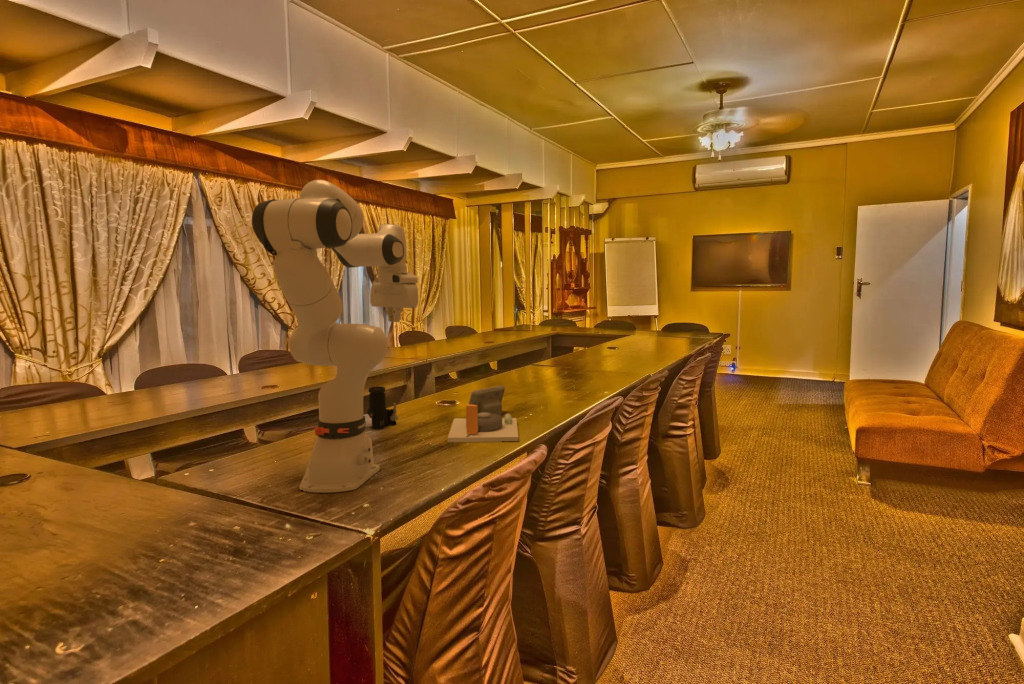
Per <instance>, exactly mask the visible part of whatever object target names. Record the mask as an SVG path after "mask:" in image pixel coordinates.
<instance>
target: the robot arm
mask: <svg viewBox="0 0 1024 684" xmlns="http://www.w3.org/2000/svg"><path fill="white" fill-rule="evenodd" d="M364 218H365V217H364V212H363V210H362V207H361V206H360V204H359V203H358V202H357V201H356V200H355V199H354V198H353V197H352V196H351V195H349V194H348V193H347V192H346V191H345V190H343V189H342V188H340V187H339V186H337V185H335V184H333V183H332V182H330V181H328V180H325V179H313V180H311V181H309V182H308V183H307V184H305V185H304V186H303V187H302V189H301V191H300V194H299V197H294V198H292V197H291V198H284V199H283V198H282V199H275V198H274V199H268V200H264V201H261V202H260V203H258V204H257V205H255V208H254V209H253V211H252V215H251V226H252V231H253V233H254V234H255V236H256V238H257V240H258V241H259V242H260V244H261V245H262V246H263V248H264V249H265V251H267V252H268V253H269V254H271V255H273V256H275V258H274V260H273V271H274V275H275V277H276V281H277V283H278V286H279V288H280V290H281V292H282V295H283V296H284V298H285V300H286V301H287V303H288V305H289V307H290V308H291V310H292V312H293V314H294V316H295V318H296V320H297V324H298V326H296V327H295V328H294V329H293V331H292V332H291V334H290V337H289V340H288V349H289V352H290V355H291V357H292V358H293V359H294V360H295V361H296V362H298V363H303V364H306V365H311V366H320V367H321V366H322V367H326V366H327V367H336V368H337V369H336V375H335V378H332V379H331V380H329V381H327V382H326V383H324V384H323V385H322V386H321V387H320V389H319V391H318V394H317V396H318V418H319V419H318V420H317V425H316V427H315V428H314V434H315V436H317V437H316V438H315V440H314V443H313V447H312V451H311V454H310V458H309V462H308V466H307V468H306V471H305V473H304V474H303V477H302V478H301V482H300V484H299V487H298V489H300V490H299V491H301V490H303V491H302V492H306V491H307V492H306V493H323V494H324V493H340V492H341V493H342V492H349V491H355V490H357V489H358V488H360V487H361V486H362V485H363V484H364V483H365V482H367V481H368V480H369V479H371V478H372V477H373V476H374V475H375V474H377V473H378V472H379V471H380V465H378V464H375V463H374V452H373V451H374V449H373V442H372V441H373V440H372V438H371V437H370V436H369V435H368V434H367V433H366V429H367V428H366V424H367V421H366V416H364V395H365V393H364V391H365V385H366V382H367V379H368V377H369V376H370V374H371V372H372V371H373V370H374V369H375V368H376V367H377V366H378V365H379V364H381V362H383V361H384V360H385V358H386V356H387V353H388V351H389V341H388V337H387V335H386V333H385V332H384V330H382V328H381V327H378V326H374V325H369V324H366V323H339V322H337V321H338V320H339V319H340V317H341V315H342V313H343V309H344V304H343V300H342V298H341V296H340V294H339V292H338V290H337V288H336V286H335V283H334V282H333V279H332V278H331V275H330V274H329V271H327V269H326V267H325V265H324V264H323V262H322V261H321V260H320V258H319V257H318V252H317V251H318V249H325V248H327V249H331V250H332V251H333V253H335V255H336V258H337V259H338V261H339V262H340V263H341V264H342V265H343V266H344V267H346V268H359V267H362V268H363V267H377V277H375V278H374V280H373V281H372V284H371V287H370V304H371V307H375V308H376V307H379V308H385V313H386V315H387V318H388V319H387V320H388V322H390V323H391V322H392V323H399V322H400V316H401V314H402V312H403V309H415V308H417V307H418V306H419V289H418V288H419V287H418V286H417V284H418V283H419V278H418V276H417V275H415V274H412V273H410V272H409V271H408V267H407V263H406V258H407V242H406V234H405V230H404V228H403V227H402V226H400V225H399V224H394V223H383V224H380V225H379V227H378V230H377V232H375V233H360V232H361V231H362V228H363V226H364V221H365V219H364Z"/></svg>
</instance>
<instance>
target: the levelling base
mask: <svg viewBox="0 0 1024 684" xmlns="http://www.w3.org/2000/svg"><path fill="white" fill-rule="evenodd" d="M502 441H518V442H519V430H518V421H517V417H512V414H511V413H508V412H507V413H506V414H504V417H502V427H501V428H500V429H497V430H492V431H479V432H478V433H477V434H467V428H466V417H465V418H463V417H462V418H459V417H458V418H457V417H456V418H453V421H452V423H451V426H450V430H449V433H448V436H447V443H503V442H502Z"/></svg>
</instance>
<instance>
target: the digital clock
mask: <svg viewBox="0 0 1024 684" xmlns="http://www.w3.org/2000/svg"><path fill="white" fill-rule="evenodd" d="M505 388H506V387H505V386H504V385H497V386H491V387H487V388H482V389H476V390H473V391H471V393H470V397H469V401H468V404H467V405H469V404H471V405H478V413H483V412H486V413H492V414H498V415H501V416H502V415H503V406H502V403H503V397H504V393H505Z"/></svg>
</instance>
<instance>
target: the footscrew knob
mask: <svg viewBox="0 0 1024 684" xmlns="http://www.w3.org/2000/svg"><path fill="white" fill-rule="evenodd" d="M468 404H469V403H468ZM468 404H467V405H465V413H466V417H465V418H466V428H467V434H477V433H478V432H479V431H492V430H497V429H500V428H501V427H502V418H503V416H502V415H498V414H492V413H486V412H483V413H478V405H471V404H469V405H468Z"/></svg>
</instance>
